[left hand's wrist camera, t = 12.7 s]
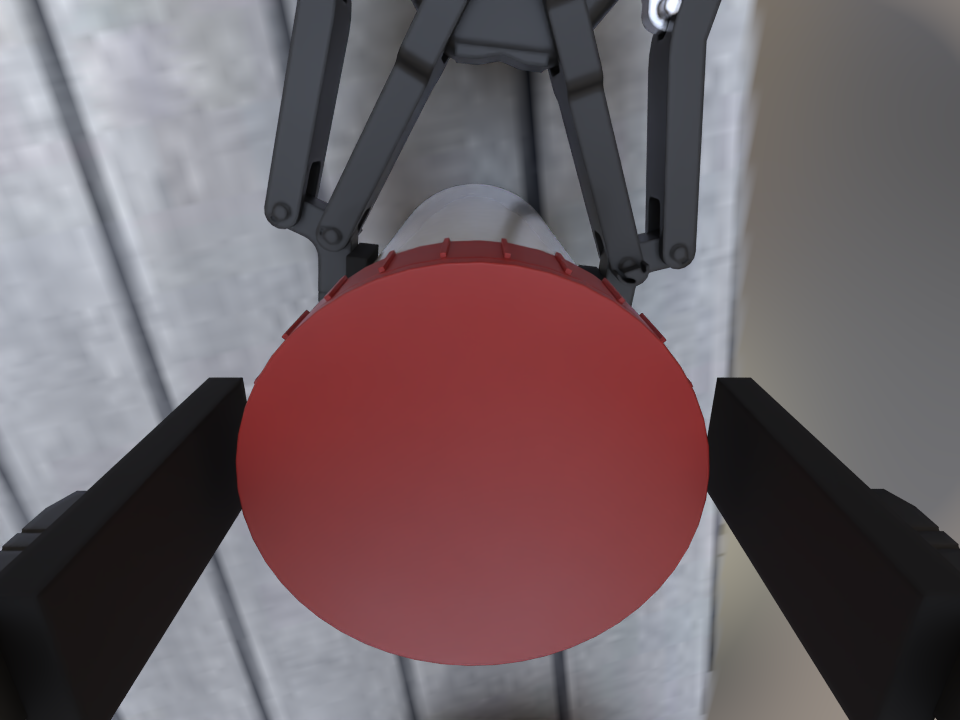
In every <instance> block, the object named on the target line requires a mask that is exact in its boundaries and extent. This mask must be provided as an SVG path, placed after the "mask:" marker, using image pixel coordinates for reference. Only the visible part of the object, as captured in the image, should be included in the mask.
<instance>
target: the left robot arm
mask: <svg viewBox="0 0 960 720" xmlns="http://www.w3.org/2000/svg"><path fill="white" fill-rule="evenodd" d="M246 403H247V400H246V394H245V388H244V382H243V378H208V379H207V380H206V381H205V382H204V383H203V384H202V385H201V386H200V387H199V388H198V389H196V390H195V391H194V392H193V393H192V394H191V395H190V396H189V397H188V398H187V399H186V400H185V401H184V402H182V403H181V404H180V405H179V406H178V407H177V408H176V409H175V410H174V411H173V412H172V413H171V414H170V415H168V416H167V417H166V418H165V419H164V420H163V421H162V422H161V423H160V424H159V425H158V426H157V427H156V428H154V429H153V430H152V431H151V432H150V433H149V434H148V435H147V436H146V437H145V438H144V439H143V440H142V441H140V442H139V443H138V444H137V445H136V446H135V447H134V448H133V449H132V450H131V451H130V452H129V453H128V454H126V455H125V456H124V457H123V458H122V459H121V460H120V461H119V462H118V463H117V464H116V465H115V466H114V467H112V468H111V469H110V470H109V471H108V472H107V473H106V474H105V475H104V476H103V477H102V478H101V479H100V480H98V481H97V482H96V483H95V484H94V485H93V486H92V487H91V488H90V489H89V490H88V491H76V492H74V493H72V494H71V495H69V496H67V497H65V498H63V499H62V500H60V501H58V502H56V503H54V504H53V505H51V506H49V507H47V508H45V509H44V510H43V511H42V512H41V513H40V514H39V515H38V516H36V517H35V518H34V519H33V520H32V521H31V522H30V523H28V524H27V525H26V526H25V527H24V528H23V529H22V533H17V534H16V535H15V536H14V537H13V538H11V539H10V540H9V541H8V542H7V543H6V544H5V545H3V546H2V550H1V551H0V720H111V719H112V717H113V715H114V714H115V712H116V710H117V709H118V707H119V706H120V704H121V702H122V701H123V699H124V698H125V696H126V694H127V693H128V691H129V690H130V688H131V686H132V685H133V683H134V682H135V680H136V678H137V677H138V675H139V674H140V672H141V670H142V669H143V667H144V665H145V664H146V662H147V661H148V659H149V657H150V656H151V654H152V653H153V651H154V649H155V648H156V646H157V645H158V643H159V641H160V640H161V638H162V637H163V635H164V633H165V632H166V630H167V629H168V627H169V625H170V624H171V622H172V620H173V619H174V617H175V616H176V614H177V612H178V611H179V609H180V608H181V606H182V604H183V603H184V601H185V600H186V598H187V596H188V595H189V593H190V592H191V590H192V588H193V587H194V585H195V584H196V582H197V580H198V579H199V577H200V575H201V574H202V572H203V571H204V569H205V567H206V566H207V564H208V563H209V561H210V559H211V558H212V556H213V555H214V553H215V551H216V550H217V548H218V547H219V545H220V543H221V542H222V540H223V539H224V537H225V535H226V534H227V532H228V530H229V529H230V527H231V526H232V524H233V522H234V521H235V519H236V518H237V516H238V514H239V513H240V511H241V510H242V506H241V502H240V498H239V493H238V488H237V474H236V452H237V440H238V433H239V429H240V425H241V421H242V417H243V413H244V409H245V406H246ZM707 439H708V444H709V480H708V488H707V492H708V494H709V495H710V497H711V498H712V500H713V502H714V503H715V505H716V506H717V508H718V510H719V511H720V513H721V514H722V516H723V518H724V519H725V521H726V522H727V524H728V526H729V527H730V529H731V530H732V532H733V534H734V535H735V537H736V539H737V540H738V542H739V543H740V545H741V547H742V548H743V550H744V551H745V553H746V555H747V556H748V558H749V559H750V561H751V563H752V564H753V566H754V567H755V569H756V571H757V572H758V574H759V575H760V577H761V579H762V580H763V582H764V583H765V585H766V587H767V588H768V590H769V592H770V593H771V595H772V596H773V598H774V600H775V601H776V603H777V604H778V606H779V608H780V609H781V611H782V612H783V614H784V616H785V617H786V619H787V620H788V622H789V624H790V625H791V627H792V629H793V630H794V632H795V633H796V635H797V637H798V638H799V640H800V641H801V643H802V645H803V646H804V648H805V649H806V651H807V653H808V654H809V656H810V657H811V659H812V661H813V662H814V664H815V665H816V667H817V669H818V670H819V672H820V674H821V675H822V677H823V678H824V680H825V682H826V683H827V685H828V686H829V688H830V690H831V691H832V693H833V694H834V696H835V698H836V699H837V701H838V702H839V704H840V706H841V707H842V709H843V710H844V712H845V714H846V715H847V717H848V718H849V720H934V719H935V718H936V719H937V720H960V549H959V546H958V543H956V542H955V541H954V540H953V539H952V538H951V537H950V536H948V535H947V534H946V533H945V532H944V531H939V527H938V526H937V525H936V524H935V523H933V522H932V521H931V520H930V519H929V518H928V517H927V516H925V515H924V514H923V513H922V512H921V511H920V510H919V509H917V508H916V507H915V506H913V505H912V504H910V503H908V502H906V501H904V500H903V499H901V498H899V497H897V496H895V495H894V494H892V493H890V492H888V491H886V490H885V489H870V488H869V487H868V486H867V485H866V484H865V483H864V482H863V481H862V480H860V479H859V478H858V477H857V476H856V475H855V474H854V473H853V472H852V471H851V470H850V469H849V468H848V467H846V466H845V465H844V464H843V463H842V462H841V461H840V460H839V459H838V458H837V457H836V456H835V455H834V454H832V453H831V452H830V451H829V450H828V449H827V448H826V447H825V446H824V445H823V444H822V443H821V442H820V441H818V440H817V439H816V438H815V437H814V436H813V435H812V434H811V433H810V432H809V431H808V430H807V429H806V428H804V427H803V426H802V425H801V424H800V423H799V422H798V421H797V420H796V419H795V418H794V417H793V416H791V415H790V414H789V413H788V412H787V411H786V410H785V409H784V408H783V407H782V406H781V405H780V404H779V403H778V402H776V401H775V400H774V399H773V398H772V397H771V396H770V395H769V394H768V393H767V392H766V391H765V390H764V389H762V388H761V387H760V386H759V385H758V384H757V383H756V382H755V381H754V380H753V379H752V378H717V382H716V388H715V394H714V400H713V406H712V412H711V418H710V424H709V430H708V436H707Z"/></svg>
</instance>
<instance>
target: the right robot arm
mask: <svg viewBox="0 0 960 720" xmlns="http://www.w3.org/2000/svg"><path fill="white" fill-rule="evenodd" d="M411 1H412V3H413V4H414V6H415V8H416V10H417V13H416V15H415V17H414V19H413V21H412V23H411V25H410V27H409V30H408V32H407V34H406V36H405V38H404V40H403V42H402V44H401V47H400V49H399V52H398V55H397V59H396V62H395V65H394V67H393V69H392V71H391V73H390V75H389V77H388V79H387V81H386V84H385V86H384V88H383V90H382V92H381V94H380V96H379V98H378V100H377V102H376V104H375V107H374V109H373V111H372V113H371V115H370V117H369V119H368V121H367V123H366V125H365V127H364V130H363V132H362V134H361V136H360V138H359V140H358V142H357V144H356V146H355V148H354V150H353V152H352V155H351V157H350V159H349V161H348V163H347V165H346V167H345V169H344V171H343V173H342V175H341V178H340V180H339V182H338V184H337V186H336V188H335V190H334V192H333V194H332V196H331V198H330V200H329V203H326V202H324V201H322V200H320V199H318V198H317V197H318V192H319V187H320V182H321V177H322V171H323V166H324V161H325V156H326V151H327V145H328V140H329V135H330V130H331V124H332V119H333V114H334V109H335V104H336V98H337V93H338V88H339V83H340V78H341V72H342V67H343V62H344V57H345V52H346V46H347V41H348V36H349V30H350V22H351V4H352V3H351V0H297V7H296V13H295V19H294V25H293V32H292V38H291V44H290V50H289V57H288V63H287V69H286V75H285V82H284V88H283V94H282V100H281V107H280V113H279V119H278V125H277V132H276V138H275V144H274V150H273V157H272V163H271V169H270V175H269V181H268V188H267V194H266V200H265V206H264V209H265V216H266V218H267V220H268V221H269V222H270V223H271V224H272V225H273V226H275V227H277V228H279V229H289V230H292V231H294V232H296V233H298V234H300V235H302V236H304V237H306V238H308V239H309V240H310V241H311V242H312V243H313V244H314V245H315V247H316V249H317V252H318V291H319V293H318V301H319V302H320V301H321V300H322V299H323V298H324V296H325V295H326V294H327V293H328V292H329V291H330V290H331V289H332V288H333V287H334V285H335V284H336V283H337V282H338V281H339V280H340V279H341V278H342V277H343V276H345V275H346V276H347V278H349V277H351V276H353V275H354V274H356V273H357V272H359V271H360V270H362V269H363V268H365V267H367V266H369V265H371V264H373V263H374V262H375V261H376V259H377V258H378V245H377V244H367V243H359V244H358V235H359V234H360V233H361V232H362V227H363V225H364V223H365V221H366V219H367V217H368V215H369V213H370V211H371V209H372V207H373V205H374V203H375V201H376V199H377V197H378V195H379V193H380V191H381V189H382V187H383V186H384V184H385V182H386V180H387V178H388V176H389V174H390V172H391V170H392V168H393V166H394V164H395V162H396V160H397V158H398V156H399V154H400V152H401V150H402V148H403V146H404V144H405V142H406V140H407V138H408V136H409V134H410V132H411V130H412V128H413V126H414V124H415V122H416V121H417V119H418V117H419V115H420V113H421V111H422V109H423V107H424V105H425V103H426V101H427V99H428V97H429V95H430V93H431V91H432V89H433V87H434V86H435V84H436V83H437V81H438V80H439V78H440V76H441V74H442V72H443V70H444V68H445V66H446V64H447V62H448V60H449V58H450V57H451V58H453V59H455V60H456V63H465V64H473V65H480V64H485V63H491V62H497V61H501V62H503V63H506V64H508V65H510V66H513V67H515V68H517V69H520V70H525V71H534V72H542V71H544V70H546V69H548V72H549V76H550V80H551V83H552V87H553V91H554V94H555V96H556V98H557V100H558V103H559V107H560V110H561V114H562V118H563V122H564V126H565V129H566V133H567V137H568V141H569V144H570V148H571V152H572V156H573V160H574V163H575V167H576V171H577V175H578V179H579V182H580V186H581V190H582V194H583V198H584V201H585V205H586V209H587V213H588V217H589V220H590V224H591V228H592V232H593V236H594V239H595V243H596V247H597V251H598V255H599V258H600V265H599V269H598V268H597V267H593V266H583V265H579V266H578V267H580V268H582V269H584V270H586V271H588V272H590V273H591V274H593V275H594V276H596V277H597V278H598V279H600V280H601V281H602V280H603V279H604V278H606V279H607V280H608V281H609V282H610V283H611V284H612V285H613V286H614V288H615V289H616V290H617V291H618V292H619V293H620V294H621V296H622V297H623V298H624V299H625V301H626V302H627V303H628V304H629V305H630V306H632V301H633V296H634V291H635V288H636V286H637V285H639V284H641V283H643V282H644V281H645V280H646V278H647V277H648V274H649V273H650V272H653V271H657V270H661V269H666V268H670V267H671V268H672V269H681V268H685V267H686V266H687V265H689V264H690V263H691V262H692V260H693V259H694V256H695V252H696V235H697V216H698V196H699V177H700V158H701V138H702V119H703V100H704V80H705V61H706V42H707V38H708V35H709V33H710V30H711V27H712V24H713V22H714V19H715V16H716V13H717V11H718V8H719V5H720V2H721V0H641V2H642V14H641V19H642V23H643V25H644V27H645V29H646V30H647V31H649V32H651V33H653V38H652V42H651V48H650V54H649V67H648V116H647V169H646V221H645V233H643V234H639V235H638V234H637V230H636V226H635V221H634V217H633V213H632V209H631V204H630V200H629V196H628V192H627V187H626V183H625V179H624V174H623V170H622V166H621V162H620V157H619V153H618V149H617V145H616V140H615V136H614V132H613V128H612V123H611V119H610V115H609V111H608V106H607V102H606V98H605V94H604V89H603V72H602V66H601V62H600V58H599V53H598V49H597V45H596V41H595V36H594V32H593V30H594V28H595V27H596V26H597V25H598V24H599V23H600V21H601V20H602V19H603V18H604V17H605V15H606V14H607V13H608V12H609V11H610V10H611V8H612V7H613V6H614V5H615V4H616V2H617V1H618V0H411Z"/></svg>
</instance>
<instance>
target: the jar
mask: <svg viewBox="0 0 960 720" xmlns="http://www.w3.org/2000/svg"><path fill="white" fill-rule="evenodd" d="M444 238H450V241H471V240H484V241H494V242H501V238H505V239H507V242H508V243H512V244H516V245H521V246H525V247H529V248H534V249H538V250H541V251H544V252H546V253H549V254H552V255H554V256H555V253H556V252H558V253H561V254H562V256H563V257H564V259H565V260H567V261H569V262H571V263H573V264H575V263H574V261H573V260H572V258H571V257H570V256H569V254H568V253H567V252H566V250H565V249H564V248H563V246H562V245H561V243H560V242H559V241H558V239H557V238H556V237H555V235H554V234H553V233H552V231H551V230H550V228H549V227H548V226H547V224H546V223H545V222H544V220H543V219H542V218H541V216H540V215H539V214H538V212H537V211H536V210H535V209H534V208H533V207H532V206H531V205H530V204H529V203H527V202H526V201H525V200H523V199H522V198H521V197H519V196H517V195H516V194H514V193H512V192H510V191H508V190H505V189H503V188H500V187H496V186H492V185H486V184H464V185H458V186H454V187H451V188H447V189H444V190H442V191H440V192H438V193H436V194H434V195H433V196H431V197H429V198H428V199H426V200H425V201H424V202H423V203H422V204H420V205H419V206H418V207H417V208H416V209H415V210H414V211H413V213H412V214H411V215H410V216H409V217H408V219H407V220H406V221H405V223H404V224H403V225H402V227H401V228H400V229H399V231H398V232H397V233H396V234H395V236H394V237H393V238H392V240H391V241H390V242H389V244H388V245H387V246H386V248H385V249H384V250H383V251H382V253H381V254H380V255H379V257H378V258H377V259H376V261H375V262H374V263H376V262H378V261H380V260H382V259H384V258H386V256H387V255H388V253H389V252H390V251H393V250H394V251H395V253H396V254H397V253H400V252H403V251H406V250H410V249H413V248H416V247H419V246H425V245H430V244H436V243H442V242H443V241H444ZM575 265H576V264H575Z"/></svg>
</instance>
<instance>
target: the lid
mask: <svg viewBox="0 0 960 720" xmlns="http://www.w3.org/2000/svg"><path fill="white" fill-rule="evenodd" d="M282 338H283V339H285V341H284V342H283V343H282V344H281V346H280V347H279V348H278V349H277V350H276V351H275V353H274V354H273V355H272V356H271V358H270V359H269V361H268V363H267V364H266V366H265V367H264V369H263V371H262V372H261V374H260V375H259V376H258V377H257V378H256V380H255V382H254V384H255V385H254V387H253V389H252V392H251V394H250V396H249V399H248V401H247V403H246V406H245V409H244V413H243V417H242V421H241V425H240V429H239V433H238V440H237V452H236V474H237V488H238V493H239V498H240V502H241V506H242V511H243V515H244V518H245V520H246V523H247V525H248V528H249V531H250V533H251V536H252V538H253V540H254V542H255V544H256V546H257V547H258V549H259V551H260V553H261V555H262V556H263V558H264V560H265V562H266V563H267V564H268V566H269V567H270V568H271V570H272V571H273V572H274V574H275V575H276V577H277V578H278V579H279V581H280V582H281V583H282V584H283V585H284V586H285V587H286V588H287V589H288V590H289V591H290V592H291V593H292V594H293V595H294V597H295V598H296V599H297V600H298V601H299V602H301V603H302V604H303V605H304V606H306V607H307V608H308V609H309V610H310V611H312V612H313V613H314V614H315V615H317V616H318V617H319V618H321V619H322V620H324V621H325V622H327V623H328V624H330V625H331V626H333V627H335V628H336V629H338V630H339V631H341V632H343V633H345V634H347V635H349V636H351V637H353V638H355V639H357V640H359V641H361V642H363V643H365V644H367V645H370V646H373V647H375V648H378V649H380V650H383V651H386V652H388V653H392V654H396V655H399V656H403V657H407V658H411V659H414V660H420V661H426V662H432V663H438V664H449V665H464V666H476V665H498V664H506V663H514V662H521V661H526V660H530V659H534V658H539V657H543V656H547V655H550V654H553V653H556V652H559V651H562V650H565V649H568V648H571V647H574V646H576V645H578V644H580V643H582V642H585V641H587V640H589V639H591V638H594V637H596V636H597V635H599V634H601V633H603V632H604V631H606V630H608V629H609V628H611V627H613V626H614V625H616V624H618V623H619V622H621V621H622V620H623V619H625V618H626V617H627V616H629V615H630V614H631V613H633V612H634V611H635V610H637V609H638V608H639V607H640V606H641V605H642V604H644V603H645V602H646V601H647V600H648V599H649V598H650V597H651V596H652V595H653V594H654V593H655V592H656V591H657V590H658V589H659V588H660V587H661V586H662V584H663V583H664V582H665V581H666V580H667V578H668V577H669V576H670V575H671V573H672V572H673V571H674V570H675V568H676V567H677V565H678V563H679V562H680V560H681V559H682V557H683V555H684V554H685V552H686V551H687V549H688V547H689V545H690V543H691V541H692V538H693V536H694V534H695V532H696V530H697V527H698V525H699V522H700V518H701V515H702V512H703V508H704V505H705V501H706V495H707V488H708V480H709V444H708V439H707V433H706V427H705V422H704V418H703V415H702V412H701V409H700V406H699V403H698V400H697V398H696V395H695V392H694V390H693V388H692V387H693V385H692V383H691V382H690V380H689V379H688V378H687V377H686V375H685V373H684V371H683V370H682V368H681V366H680V365H679V363H678V362H677V361H676V359H675V358H674V357H673V355H672V354H671V353H670V351H669V350H668V349H667V347H666V346H665V345H664V342H665V341H666V339H665V338H664V336H663V335H662V334H661V333H660V332H659V331H658V330H657V329H656V328H655V326H654V325H653V324H652V323H651V322H650V321H649V320H648V319H647V318H646V316H645V315H644V314H643V313H641V314H640V315H638V313H637V312H636V311H635V310H634V309H633V308H632V307H631V306H630V305H629V304H628V303H627V302H626V301H625V299H624V298H623V297H622V296H621V294H620V293H619V292H618V291H617V290H616V289H615V288H614V286H613V285H612V284H611V283H610V282H609V281H608V280H607V279H606V278H604V279H603V280H602V281H601V280H600V279H598V278H597V277H596V276H594V275H593V274H591V273H590V272H588V271H586V270H584V269H582V268H580V267H578V266H577V265H575V264H573V263H571V262H569V261H567V260H565V259H564V257H563V256H562V254H561V253H558V252H556V253H555V256H554V255H552V254H549V253H546V252H544V251H541V250H538V249H534V248H529V247H525V246H521V245H516V244H512V243H508V242H507V239H505V238H501V242H494V241H484V240H471V241H450V238H444V241H443V242H442V243H436V244H430V245H425V246H419V247H416V248H413V249H410V250H406V251H403V252H400V253H397V254H396V253H395V251H394V250H393V251H390V252H389V253H388V255H387V256H386V258H384V259H382V260H380V261H378V262H376V263H373V264H371V265H369V266H367V267H365V268H363V269H362V270H360V271H359V272H357V273H356V274H354V275H353V276H351V277H349V278H347V276H346V275H345V276H343V277H342V278H341V279H340V280H339V281H338V282H337V283H336V284H335V285H334V287H333V288H332V289H331V290H330V291H329V292H328V293H327V294H326V295H325V296H324V298H323V299H322V300H321V301H320V302H319V303H318V304H317V305H316V306H315V307H314V308H313V310H312V311H311V312H309V311H308V310H306V311H305V312H304V313H303V314H302V315H301V316H300V317H299V318H298V320H297V321H296V322H295V323H294V324H293V325H292V326H291V327H290V328H289V329H288V330H287V331H286V332H285V333H284V335H283V336H282Z"/></svg>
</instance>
